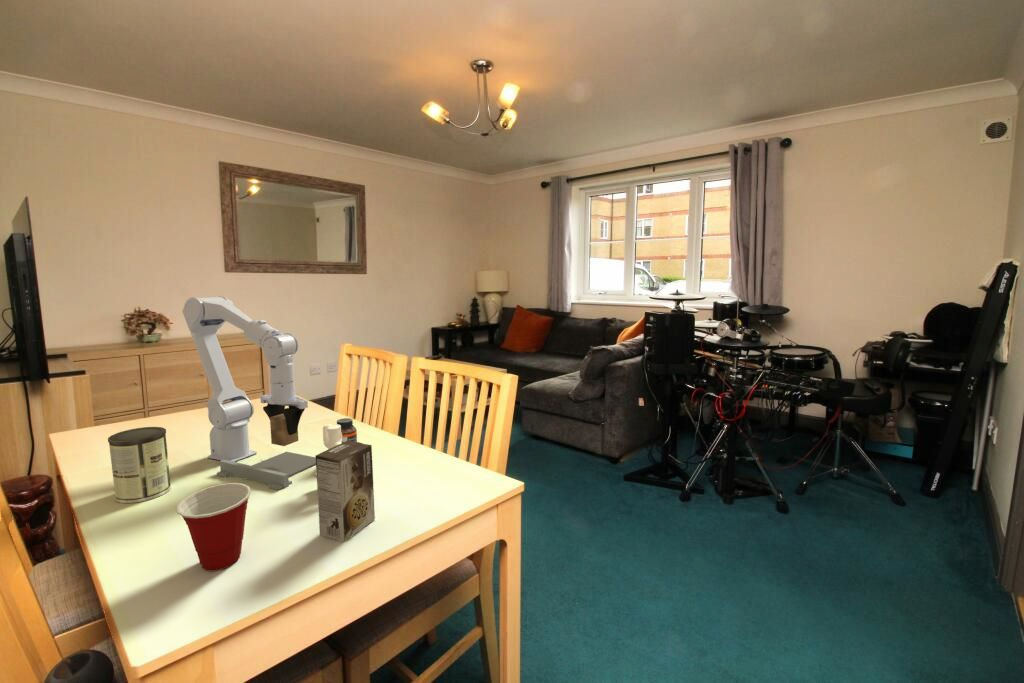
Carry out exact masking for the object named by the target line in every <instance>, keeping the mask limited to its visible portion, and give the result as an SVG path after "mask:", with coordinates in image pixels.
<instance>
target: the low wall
mask: <svg viewBox="0 0 1024 683" xmlns="http://www.w3.org/2000/svg"><path fill="white" fill-rule="evenodd" d="M219 470H220V471H217V472H216V475H217V476H220V477H223V478H226V477H228V476H233V477H237V478H241V479H245V480H249V481H253V482H257V483H262V484H266V485H268V488H269V489H272V490H277V491H280V490H282V489H286V488H287V487H289V486H290V485H293V481H292V480H289V478H288V474H286V473H281V472H277V471H272V470H268V469H263V468H259V467H255V466H252V465H249V464H247V463H240V462H237V461H235V462H232V461H228V460H222V461H221V460H219Z"/></svg>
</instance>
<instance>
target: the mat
mask: <svg viewBox="0 0 1024 683" xmlns="http://www.w3.org/2000/svg"><path fill="white" fill-rule="evenodd" d="M251 466H255V467H259V468H263V469H268V470H272V471H277V472H281V473H286V474H288V479H290V478H291V477H293V476H296V475H297V474H300V473H301V472H304V471H306V470H309V469H311V468H314V467H316V457H315V456H309V455H306V454H302V453H301V454H300V453H295V452H291V451H284V452H282V453H279V454H277V455H275V456H272V457H269V458H267V459H264V460H262V461H260V462H256V463H254V464H252V465H251Z"/></svg>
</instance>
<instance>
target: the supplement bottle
mask: <svg viewBox="0 0 1024 683" xmlns="http://www.w3.org/2000/svg"><path fill="white" fill-rule="evenodd" d="M353 423H354V422H353V419H352V418H351V417H350V418H339V419H337V420H336V424H338V425H341V433H342V441H341V442H342V443H343V442H345V441H354V442H358V434H357V433H358V432H357V428H356V426H354V425H353Z"/></svg>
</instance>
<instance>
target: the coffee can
mask: <svg viewBox="0 0 1024 683" xmlns="http://www.w3.org/2000/svg"><path fill="white" fill-rule="evenodd" d="M107 442H108V444H109V452H110V453H109V454H110V463H111V470H112V478H113V488H114V496H115V498H114V500H115V502H117V503H120V504H133V503H134V504H135V503H142V502H146V501H149V500H154V499H156V498H158V497H161V496H163V495H166V494H167V493H168V492H170V490H171V489H172V484H171V483H172V482H171V474H170V465H169V457H168V455H169V454H168V444H167V429H166V428H165V427H162V426H161V427H160V426H146V427H145V426H144V427H137V428H131V429H127V430H123V431H119V432H116V433H114V434H112V435H110V436H108V438H107Z"/></svg>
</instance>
